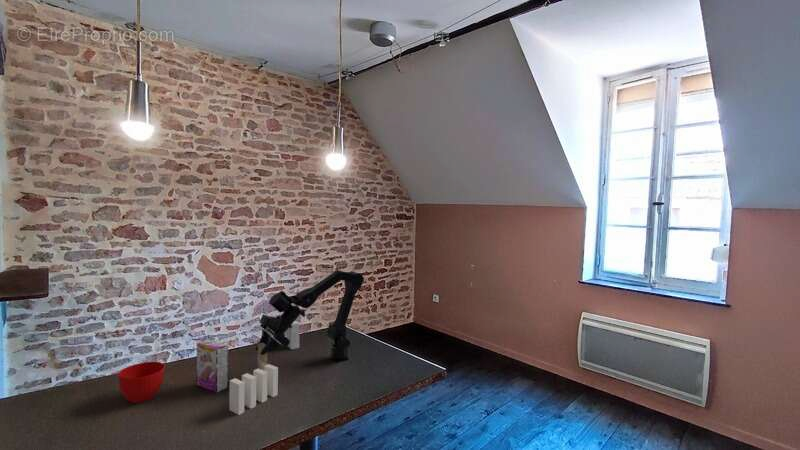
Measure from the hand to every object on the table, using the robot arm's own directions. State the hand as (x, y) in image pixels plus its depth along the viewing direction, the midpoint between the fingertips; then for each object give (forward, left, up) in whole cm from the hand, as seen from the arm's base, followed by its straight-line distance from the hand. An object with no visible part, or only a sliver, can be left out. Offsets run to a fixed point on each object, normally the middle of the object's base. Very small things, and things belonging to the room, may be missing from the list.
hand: (258, 351), depth 141 cm
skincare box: (-24, -24, -11) cm, 35 cm away
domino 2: (+8, +16, -11) cm, 21 cm away
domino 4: (+4, +14, -11) cm, 19 cm away
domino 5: (0, +13, -11) cm, 17 cm away
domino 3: (-1, 0, -8) cm, 8 cm away
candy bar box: (+15, -4, -11) cm, 20 cm away
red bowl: (+36, -11, -11) cm, 40 cm away
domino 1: (+12, +17, -11) cm, 24 cm away
